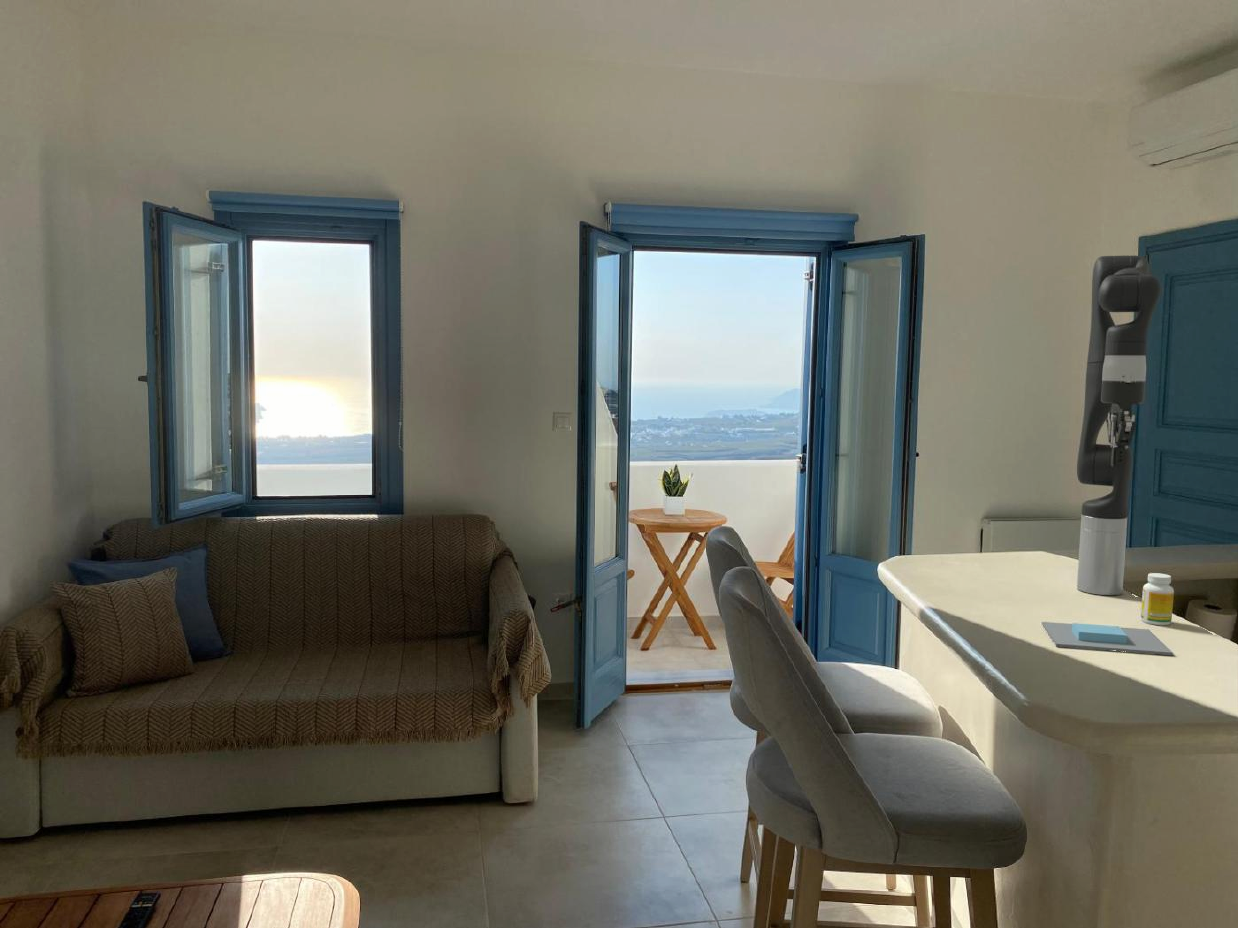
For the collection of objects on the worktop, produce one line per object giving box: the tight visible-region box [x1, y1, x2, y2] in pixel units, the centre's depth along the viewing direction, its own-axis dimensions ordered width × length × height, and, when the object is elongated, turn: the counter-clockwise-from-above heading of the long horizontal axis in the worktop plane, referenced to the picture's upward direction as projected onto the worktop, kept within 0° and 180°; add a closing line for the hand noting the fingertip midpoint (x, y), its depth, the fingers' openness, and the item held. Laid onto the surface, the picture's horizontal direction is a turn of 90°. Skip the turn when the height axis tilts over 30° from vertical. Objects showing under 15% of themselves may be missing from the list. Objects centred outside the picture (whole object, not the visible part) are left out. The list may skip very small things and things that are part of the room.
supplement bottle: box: [1140, 572, 1175, 626], centre depth 188 cm, size 5×5×10 cm
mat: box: [1041, 621, 1174, 656], centre depth 176 cm, size 15×19×1 cm
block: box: [1071, 622, 1127, 644], centre depth 175 cm, size 2×8×6 cm
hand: (1117, 466), depth 186 cm, fingers closed
